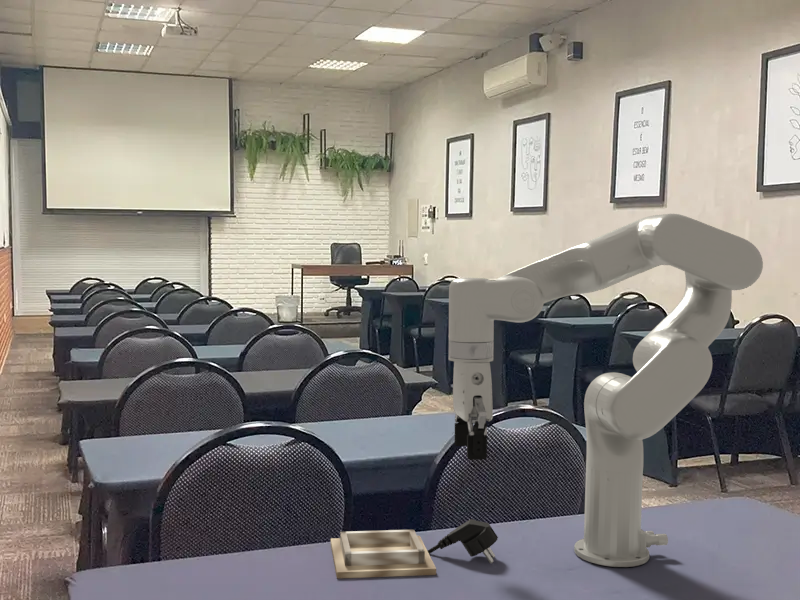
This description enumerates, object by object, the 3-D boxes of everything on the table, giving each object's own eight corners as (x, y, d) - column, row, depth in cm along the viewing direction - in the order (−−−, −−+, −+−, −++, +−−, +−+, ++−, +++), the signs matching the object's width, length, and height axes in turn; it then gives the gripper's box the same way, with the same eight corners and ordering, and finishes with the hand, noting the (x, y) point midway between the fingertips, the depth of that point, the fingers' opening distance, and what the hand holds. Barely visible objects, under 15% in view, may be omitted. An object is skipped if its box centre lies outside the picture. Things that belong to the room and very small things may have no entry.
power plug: (427, 543, 149) (484, 509, 146) (451, 580, 148) (508, 546, 146) (421, 554, 143) (479, 519, 141) (446, 593, 143) (505, 557, 140)
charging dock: (419, 541, 152) (420, 524, 152) (436, 574, 136) (436, 556, 136) (330, 544, 150) (330, 527, 150) (336, 578, 134) (337, 559, 134)
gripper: (506, 357, 134) (505, 464, 135) (480, 345, 151) (479, 440, 152) (460, 358, 133) (459, 465, 134) (439, 346, 150) (438, 441, 151)
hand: (470, 452), depth 143 cm, fingers open, 9 cm apart
